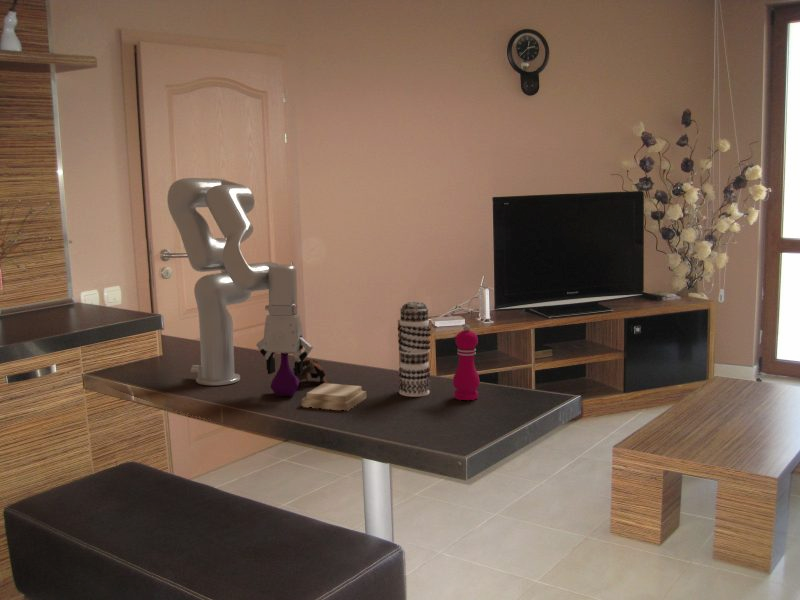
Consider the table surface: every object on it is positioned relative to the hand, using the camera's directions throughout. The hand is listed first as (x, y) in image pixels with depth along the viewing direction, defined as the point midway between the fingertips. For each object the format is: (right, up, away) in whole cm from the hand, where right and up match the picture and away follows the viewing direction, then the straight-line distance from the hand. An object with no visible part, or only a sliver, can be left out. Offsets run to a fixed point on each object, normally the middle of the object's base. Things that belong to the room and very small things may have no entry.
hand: (284, 373), depth 213 cm
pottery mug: (+6, -4, +14) cm, 15 cm away
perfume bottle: (0, -6, +1) cm, 6 cm away
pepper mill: (+49, -6, -3) cm, 50 cm away
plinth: (+14, -7, -7) cm, 17 cm away
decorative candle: (+35, -6, +3) cm, 36 cm away
